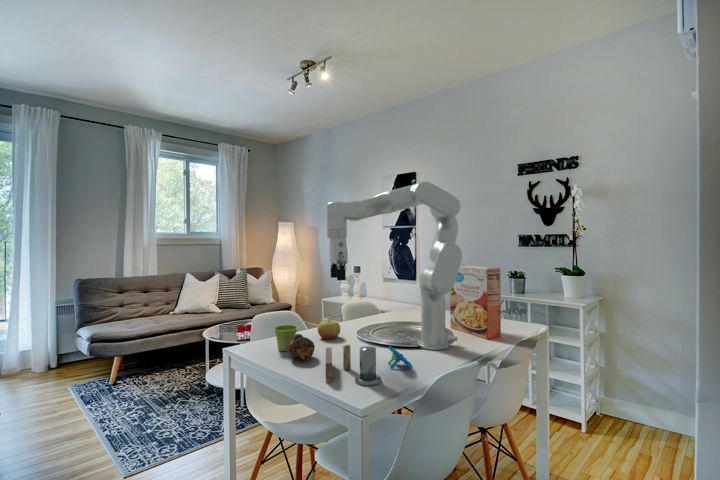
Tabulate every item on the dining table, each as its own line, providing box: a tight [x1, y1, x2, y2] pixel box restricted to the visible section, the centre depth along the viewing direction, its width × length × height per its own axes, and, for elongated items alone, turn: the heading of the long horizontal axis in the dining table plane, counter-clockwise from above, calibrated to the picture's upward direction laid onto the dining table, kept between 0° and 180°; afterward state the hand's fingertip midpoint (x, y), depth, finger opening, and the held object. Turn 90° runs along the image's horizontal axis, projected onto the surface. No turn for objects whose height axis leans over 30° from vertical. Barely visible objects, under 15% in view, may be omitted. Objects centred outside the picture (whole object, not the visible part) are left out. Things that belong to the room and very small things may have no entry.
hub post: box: [354, 345, 382, 387], centre depth 118 cm, size 8×8×10 cm
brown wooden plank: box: [325, 347, 333, 384], centre depth 125 cm, size 2×16×6 cm, turn 5°
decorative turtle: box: [288, 333, 316, 362], centre depth 140 cm, size 10×15×8 cm, turn 27°
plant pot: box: [273, 324, 299, 352], centre depth 151 cm, size 9×9×9 cm
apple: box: [317, 319, 341, 340], centre depth 167 cm, size 10×10×8 cm
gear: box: [387, 345, 413, 370], centre depth 129 cm, size 11×6×10 cm
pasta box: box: [449, 264, 502, 341], centre depth 174 cm, size 23×8×30 cm, turn 28°
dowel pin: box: [342, 343, 352, 371], centre depth 128 cm, size 2×2×8 cm
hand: (338, 278), depth 146 cm, fingers open, 9 cm apart
